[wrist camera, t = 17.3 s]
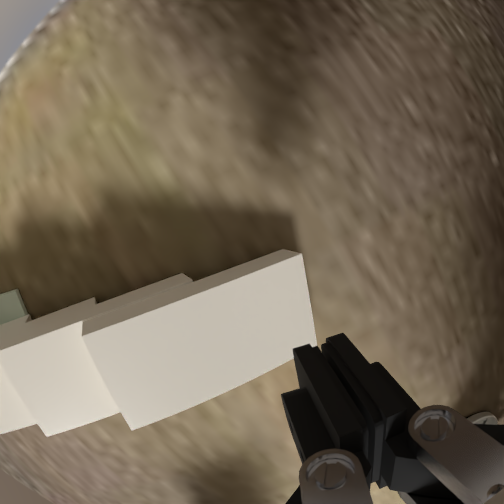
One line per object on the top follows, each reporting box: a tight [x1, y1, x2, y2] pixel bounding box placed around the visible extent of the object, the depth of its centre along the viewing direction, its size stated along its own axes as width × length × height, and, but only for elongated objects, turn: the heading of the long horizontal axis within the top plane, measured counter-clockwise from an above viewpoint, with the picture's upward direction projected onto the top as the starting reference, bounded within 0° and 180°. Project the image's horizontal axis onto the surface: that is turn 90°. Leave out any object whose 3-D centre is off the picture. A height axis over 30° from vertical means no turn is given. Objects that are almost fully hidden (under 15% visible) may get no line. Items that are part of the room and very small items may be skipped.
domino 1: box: [0, 297, 97, 434], centre depth 13 cm, size 2×5×10 cm
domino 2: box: [0, 273, 193, 437], centre depth 13 cm, size 2×5×10 cm
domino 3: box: [82, 249, 317, 430], centre depth 14 cm, size 2×5×10 cm
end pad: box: [0, 289, 28, 325], centre depth 15 cm, size 7×8×1 cm
